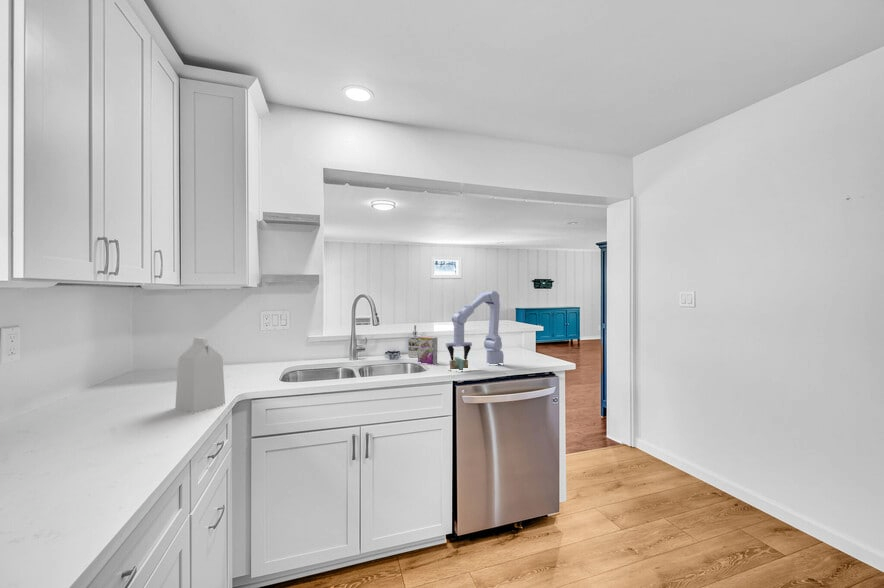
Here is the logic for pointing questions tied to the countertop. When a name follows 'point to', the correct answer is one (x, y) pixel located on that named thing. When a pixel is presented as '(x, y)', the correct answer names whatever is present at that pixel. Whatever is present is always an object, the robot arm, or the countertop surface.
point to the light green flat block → (459, 363)
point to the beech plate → (454, 366)
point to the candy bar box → (427, 349)
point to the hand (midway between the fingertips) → (458, 359)
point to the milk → (200, 378)
